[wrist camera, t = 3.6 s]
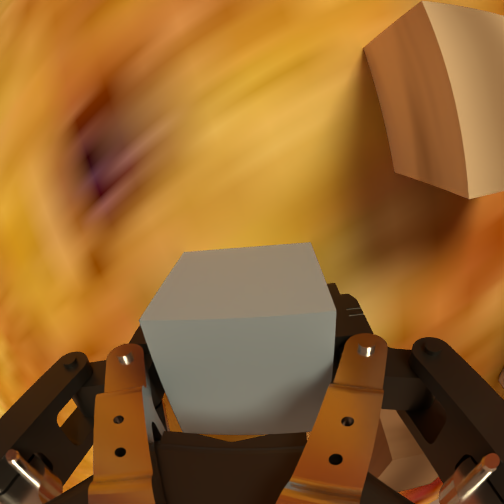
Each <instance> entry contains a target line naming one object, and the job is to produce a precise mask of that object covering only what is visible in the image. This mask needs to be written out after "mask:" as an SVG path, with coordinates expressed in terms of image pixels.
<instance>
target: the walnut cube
mask: <svg viewBox="0 0 504 504" xmlns="http://www.w3.org/2000/svg"><path fill="white" fill-rule="evenodd" d="M368 472H369V473H371V474H372V475H374V476H375V477H376V478H378V479H379V480H380V481H382V482H383V483H385V484H386V485H388V486H389V487H390V488H392V489H393V490H395V491H396V492H400V491H404V490H408V489H412V488H416V487H420V486H423V485H427V484H430V483H432V482H433V481H434V480H435V479H436V478H437V477H438V474H437V473H436V471H435V470H434V468H433V466H432V465H431V463H430V462H429V460H428V459H427V457H426V456H425V454H424V453H423V451H422V449H421V448H420V446H419V445H418V443H417V442H416V440H415V439H414V437H413V436H412V434H411V433H410V431H409V430H408V428H407V427H406V425H405V424H404V422H403V421H402V419H401V418H400V416H399V415H398V413H397V411H396V410H389V409H381V412H380V418H379V423H378V428H377V433H376V438H375V443H374V447H373V452H372V456H371V460H370V464H369V468H368Z"/></svg>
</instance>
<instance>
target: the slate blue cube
mask: <svg viewBox="0 0 504 504" xmlns="http://www.w3.org/2000/svg"><path fill="white" fill-rule="evenodd" d="M139 322H140V325H141V328H142V331H143V334H144V337H145V340H146V343H147V346H148V348H149V351H150V354H151V357H152V359H153V362H154V365H155V367H156V370H157V373H158V375H159V378H160V380H161V383H162V385H163V388H164V390H165V393H166V395H167V397H168V400H169V402H170V405H171V407H172V409H173V411H174V414H175V416H176V418H177V420H178V423H179V425H180V427H181V429H182V431H183V433H196V434H217V435H264V434H284V433H298V432H310V431H312V429H313V426H314V424H315V421H316V418H317V416H318V413H319V411H320V408H321V405H322V403H323V400H324V397H325V394H326V392H327V389H328V386H329V384H330V383H331V381H332V370H333V358H334V344H335V329H336V308H335V305H334V303H333V300H332V297H331V295H330V292H329V289H328V286H327V284H326V281H325V278H324V276H323V273H322V271H321V268H320V265H319V263H318V260H317V258H316V255H315V253H314V250H313V248H312V245H311V243H310V242H309V243H296V244H283V245H270V246H257V247H244V248H231V249H219V250H206V251H194V252H184V253H183V254H182V256H181V257H180V259H179V260H178V262H177V263H176V265H175V266H174V268H173V269H172V271H171V272H170V274H169V275H168V277H167V278H166V280H165V281H164V283H163V284H162V286H161V287H160V289H159V290H158V292H157V293H156V295H155V296H154V298H153V299H152V301H151V302H150V304H149V306H148V307H147V309H146V310H145V312H144V313H143V315H142V316H141V318H140V320H139Z"/></svg>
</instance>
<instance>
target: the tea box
mask: <svg viewBox="0 0 504 504" xmlns="http://www.w3.org/2000/svg"><path fill="white" fill-rule="evenodd" d="M499 377H500V378H499V382H500V384H501V385H502V387H503V388H504V369H503V370H502V372H501V374H500V376H499Z"/></svg>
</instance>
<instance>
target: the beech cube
mask: <svg viewBox="0 0 504 504" xmlns="http://www.w3.org/2000/svg"><path fill="white" fill-rule="evenodd" d="M363 49H364V52H365V55H366V58H367V61H368V64H369V68H370V71H371V74H372V78H373V81H374V84H375V88H376V92H377V95H378V99H379V103H380V107H381V111H382V115H383V119H384V123H385V127H386V132H387V137H388V141H389V146H390V151H391V157H392V162H393V168H394V172H395V173H398V174H401V175H404V176H407V177H410V178H413V179H416V180H419V181H422V182H425V183H428V184H430V185H433V186H436V187H439V188H441V189H444V190H447V191H449V192H452V193H454V194H457V195H460V196H462V197H465V198H467V199H472V198H476V197H480V196H485V195H489V194H493V193H497V192H501V191H504V16H502V15H499V14H495V13H491V12H487V11H482V10H478V9H473V8H468V7H463V6H457V5H451V4H444V3H436V2H427V1H421V2H420V3H418V4H417V5H416V6H414V7H413V8H412V9H410V10H409V11H408V12H407V13H405V14H404V15H403V16H401V17H400V18H399V19H398V20H396V21H395V22H394V23H393V24H391V25H390V26H389V27H388V28H387V29H385V30H384V31H383V32H382V33H380V34H379V35H378V36H377V37H376V38H374V39H373V40H372V41H371V42H370V43H369V44H367V45H366V46H365V47H364V48H363Z"/></svg>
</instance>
